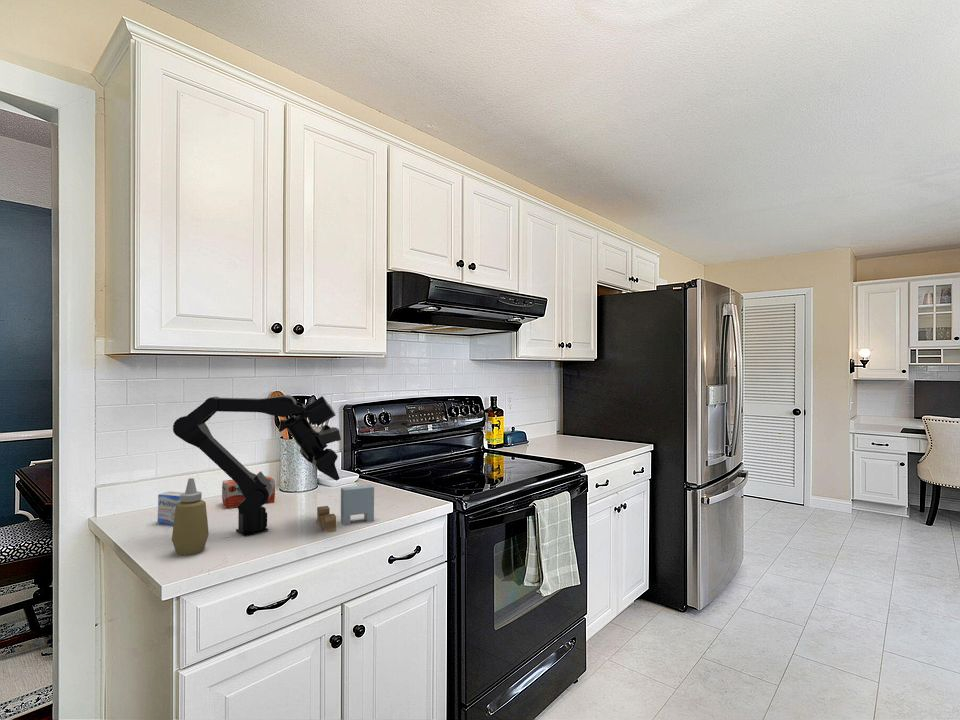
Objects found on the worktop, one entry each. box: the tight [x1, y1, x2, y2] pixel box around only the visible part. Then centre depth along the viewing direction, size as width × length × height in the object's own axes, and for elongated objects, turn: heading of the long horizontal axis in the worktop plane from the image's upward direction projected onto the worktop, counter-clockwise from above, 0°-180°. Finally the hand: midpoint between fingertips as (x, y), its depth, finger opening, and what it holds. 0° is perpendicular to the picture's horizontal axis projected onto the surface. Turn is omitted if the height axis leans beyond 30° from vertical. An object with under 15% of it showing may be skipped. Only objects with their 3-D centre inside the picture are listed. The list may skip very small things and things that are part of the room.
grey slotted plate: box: [340, 484, 375, 526], centre depth 153 cm, size 9×4×10 cm, turn 118°
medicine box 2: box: [221, 475, 276, 510], centre depth 172 cm, size 15×8×8 cm, turn 124°
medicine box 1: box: [157, 491, 183, 526], centre depth 150 cm, size 8×4×9 cm, turn 76°
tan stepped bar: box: [316, 505, 337, 533], centre depth 149 cm, size 12×3×4 cm, turn 28°
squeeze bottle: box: [171, 477, 210, 556], centre depth 128 cm, size 8×8×18 cm
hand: (333, 475), depth 152 cm, fingers open, 9 cm apart
